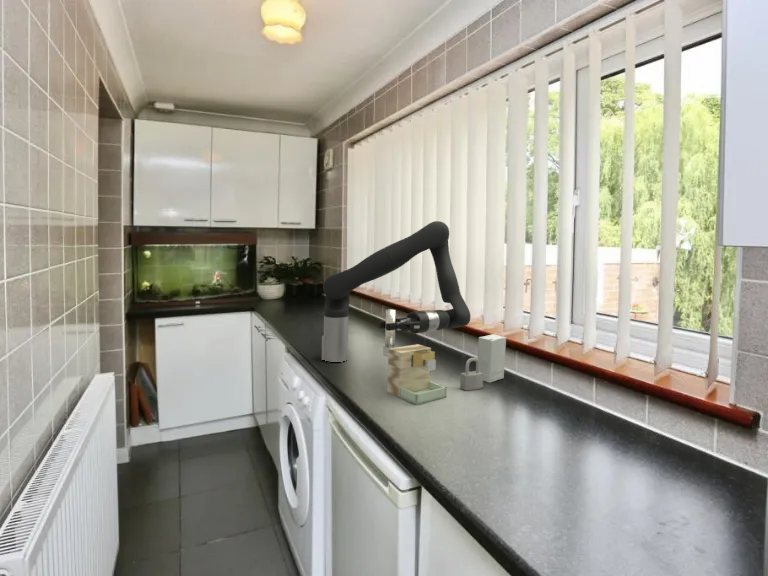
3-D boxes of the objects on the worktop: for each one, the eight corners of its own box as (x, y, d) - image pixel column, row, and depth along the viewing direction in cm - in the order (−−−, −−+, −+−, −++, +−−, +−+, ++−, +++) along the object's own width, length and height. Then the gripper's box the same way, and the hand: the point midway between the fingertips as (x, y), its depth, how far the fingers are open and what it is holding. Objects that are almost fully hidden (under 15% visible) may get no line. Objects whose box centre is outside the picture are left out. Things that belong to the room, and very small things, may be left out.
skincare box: (490, 374, 160) (492, 333, 158) (504, 379, 155) (507, 336, 154) (475, 378, 154) (477, 336, 153) (489, 383, 150) (492, 339, 148)
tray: (400, 397, 133) (400, 387, 133) (429, 390, 141) (430, 381, 140) (416, 405, 128) (416, 394, 127) (446, 397, 135) (446, 387, 135)
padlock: (476, 384, 148) (477, 355, 147) (484, 388, 144) (485, 358, 143) (458, 387, 144) (460, 357, 143) (466, 391, 141) (468, 360, 140)
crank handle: (382, 355, 147) (383, 309, 145) (390, 353, 149) (391, 309, 147) (427, 371, 130) (429, 320, 128) (435, 369, 132) (437, 319, 130)
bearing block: (387, 391, 138) (388, 348, 137) (416, 384, 146) (418, 344, 144) (399, 397, 134) (401, 352, 132) (429, 390, 141) (430, 347, 140)
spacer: (413, 364, 133) (413, 351, 133) (426, 361, 136) (426, 349, 136) (421, 367, 131) (421, 354, 130) (434, 364, 134) (434, 352, 133)
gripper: (409, 308, 159) (370, 311, 149) (437, 313, 148) (397, 318, 138) (409, 328, 160) (369, 333, 150) (436, 336, 149) (396, 342, 139)
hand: (383, 326), depth 144 cm, fingers closed on crank handle, 3 cm apart
